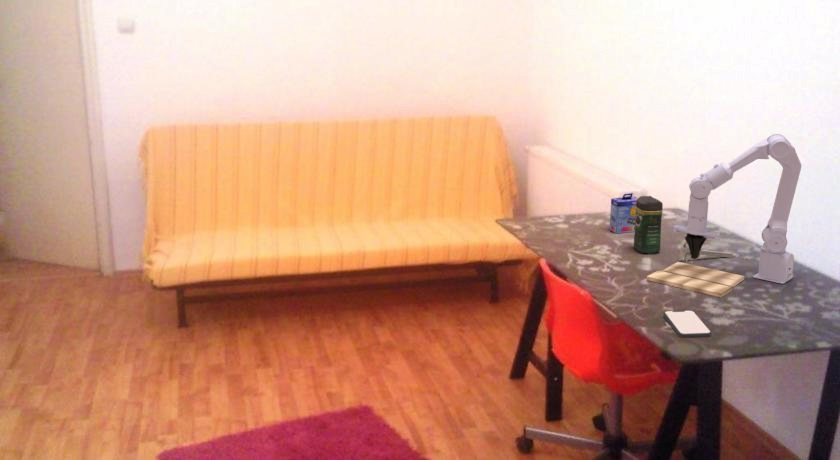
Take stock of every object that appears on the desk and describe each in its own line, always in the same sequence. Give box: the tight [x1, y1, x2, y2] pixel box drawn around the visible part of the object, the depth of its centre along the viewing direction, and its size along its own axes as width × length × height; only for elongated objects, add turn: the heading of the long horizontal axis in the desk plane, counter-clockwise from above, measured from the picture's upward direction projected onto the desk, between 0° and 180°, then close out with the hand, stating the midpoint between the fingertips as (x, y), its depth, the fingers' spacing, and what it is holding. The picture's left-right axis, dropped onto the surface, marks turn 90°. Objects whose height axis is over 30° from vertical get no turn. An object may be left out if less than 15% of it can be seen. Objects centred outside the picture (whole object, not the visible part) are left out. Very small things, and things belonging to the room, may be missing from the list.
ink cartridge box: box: [609, 192, 639, 234], centre depth 325 cm, size 10×6×14 cm, turn 107°
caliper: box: [678, 243, 737, 263], centre depth 293 cm, size 20×1×6 cm, turn 103°
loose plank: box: [663, 261, 745, 288], centre depth 276 cm, size 22×10×1 cm, turn 47°
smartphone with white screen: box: [662, 309, 713, 338], centre depth 239 cm, size 9×2×16 cm
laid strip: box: [646, 269, 734, 298], centre depth 269 cm, size 24×8×1 cm, turn 47°
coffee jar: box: [633, 195, 664, 255], centre depth 301 cm, size 10×8×19 cm
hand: (694, 257), depth 279 cm, fingers closed
